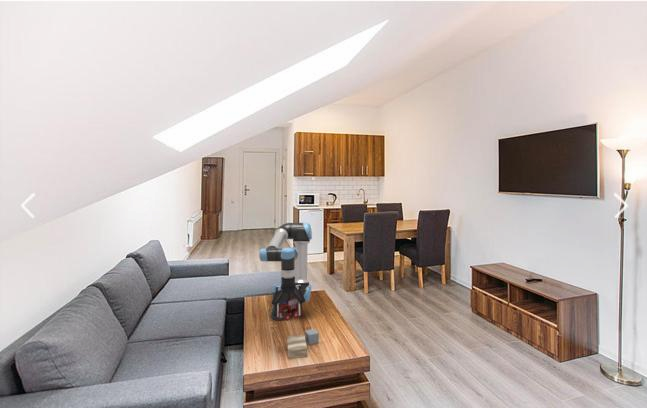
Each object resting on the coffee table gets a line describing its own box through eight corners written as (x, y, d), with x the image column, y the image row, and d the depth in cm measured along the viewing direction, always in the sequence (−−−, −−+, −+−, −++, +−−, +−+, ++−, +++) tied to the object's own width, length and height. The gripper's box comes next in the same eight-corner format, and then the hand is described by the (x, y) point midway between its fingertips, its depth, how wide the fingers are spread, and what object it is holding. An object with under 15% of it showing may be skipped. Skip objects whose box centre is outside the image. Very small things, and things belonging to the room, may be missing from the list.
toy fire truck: (275, 318, 170) (275, 300, 170) (295, 312, 177) (295, 295, 177) (281, 322, 164) (281, 303, 164) (301, 317, 171) (301, 298, 171)
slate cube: (305, 340, 179) (305, 330, 179) (314, 338, 182) (314, 328, 181) (309, 345, 174) (308, 335, 174) (318, 342, 177) (318, 333, 176)
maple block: (287, 344, 176) (286, 335, 176) (304, 342, 178) (304, 334, 177) (288, 359, 161) (288, 350, 161) (307, 357, 163) (307, 348, 163)
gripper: (266, 279, 164) (267, 319, 165) (309, 277, 167) (310, 316, 168) (266, 275, 171) (267, 313, 172) (308, 273, 174) (309, 311, 176)
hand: (288, 315), depth 170 cm, fingers closed on toy fire truck, 11 cm apart
